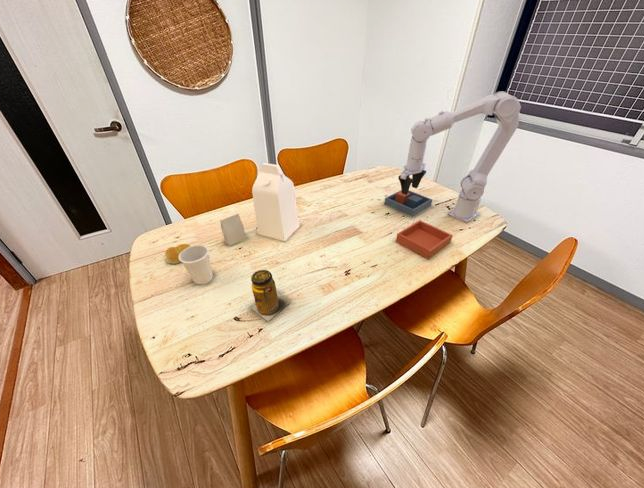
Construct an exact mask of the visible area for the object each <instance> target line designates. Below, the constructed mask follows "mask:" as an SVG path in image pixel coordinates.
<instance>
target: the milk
mask: <svg viewBox="0 0 644 488" xmlns="http://www.w3.org/2000/svg"><path fill="white" fill-rule="evenodd" d="M251 193H252V202H253V207H254V216H255V222H256V230H257V235H259V236H264V237H267V238H271V239H275V240H278V241H282V242H286V241H287V240H288V239H289V238H290V237H291V236H292V235H293V234H294V232H296V230H297V229H299V228H300V226H301V224H300V219H299V211H298V204H297V197H296V190H295V184H294V182H293V180H292V179H290V177H287V176H286V175H285V174H284V173H283V171H282V170H281V167H280V165H279V164H275V163H268V162H262V163H261V165H260V170H259V173H258V175H257V177H256V179H255V181H254V183H253V185H252V189H251Z"/></svg>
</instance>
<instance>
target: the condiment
mask: <svg viewBox="0 0 644 488" xmlns="http://www.w3.org/2000/svg"><path fill="white" fill-rule="evenodd" d="M250 280H251V291H252V294H253V298H254V302H255V304H254V305H253V306H252V307H251V310H253V311H254V312H255V313H256V314H258V315H259V316H260V317H262V318H263V319H264V320H265V321H267V322H269V321H270V320H272V319H273V318H274V317H275V316H277V315H278V314H279V313H280V312H281V311H282V310H284V308H286V307H287V306H289V304H291V301H289V300H288V299H287V298H285V297H283V296H282V295H280V294H279V293H278V291H277V287H276V286H277V285H276V282H275V280H274V278H273V273H271V272H270V271H269V270H266V269H260V270H256V271H255V272H254V273H253V274H251V276H250Z"/></svg>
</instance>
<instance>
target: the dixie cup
mask: <svg viewBox="0 0 644 488" xmlns="http://www.w3.org/2000/svg"><path fill="white" fill-rule="evenodd" d="M179 260H180V261H181V262H180V263H181V264H182V265H183V266H184V268H185V269H186V271H187V273H188V274H189V276H190V277H191V279H192V280H193V282H194V283H195V284H196V285H205V284H207V283H209V282H210V281H212V279H213V278H214V276H213V275H214V274H213V269H212V265H211V260H210V250H209V248H208V247H207V246H206V245H202V244H195V245H190V247H188V248H186V249H184V250H183V251H182V252H181V253H180V254H179Z"/></svg>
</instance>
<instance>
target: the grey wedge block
mask: <svg viewBox="0 0 644 488" xmlns="http://www.w3.org/2000/svg"><path fill="white" fill-rule="evenodd" d="M220 229H221V232H222V235H223V239H224V242H225V243H226V244H227V246H229V247H231V246H233V245H236V244H238V243H241V242H243V241H245V240H247V235H246V231H245V228H244V224H243V222H242V219H241V217H240V214H239V213H236V214H233V215H231V216H228V217H226V218H223V219H220Z"/></svg>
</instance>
